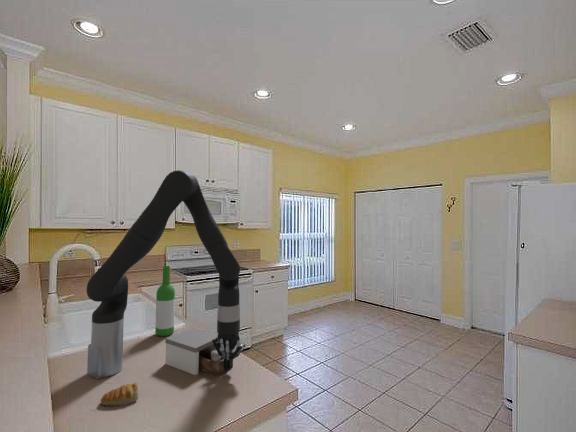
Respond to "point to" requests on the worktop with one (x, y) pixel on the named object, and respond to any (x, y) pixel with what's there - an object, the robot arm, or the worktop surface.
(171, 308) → the wine bottle
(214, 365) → the caddy
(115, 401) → the pastry
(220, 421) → the worktop surface
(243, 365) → the worktop surface
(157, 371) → the worktop surface
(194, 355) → the counter bay
